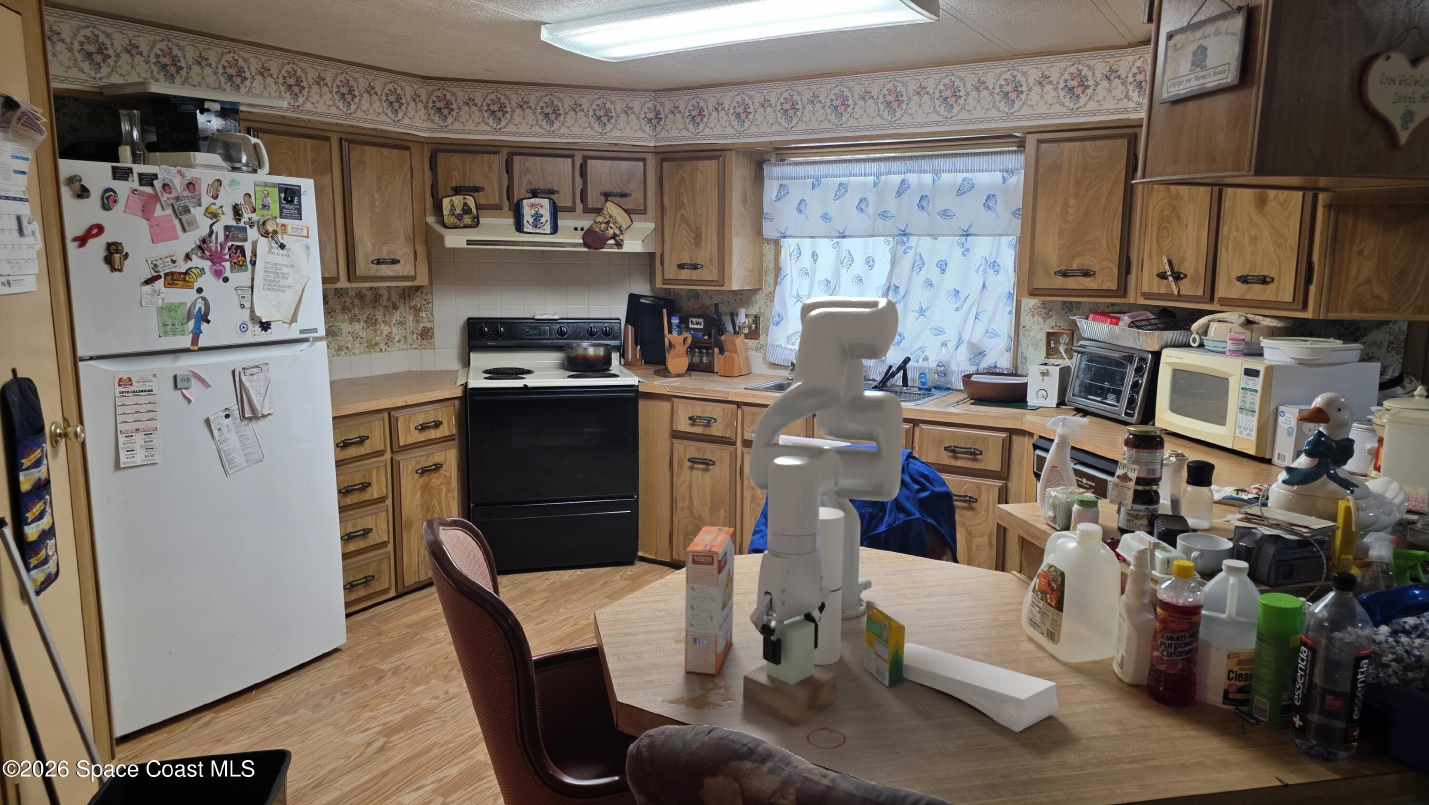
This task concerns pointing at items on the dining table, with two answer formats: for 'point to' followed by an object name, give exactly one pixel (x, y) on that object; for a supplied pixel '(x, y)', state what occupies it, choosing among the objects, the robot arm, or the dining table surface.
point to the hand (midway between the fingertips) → (790, 653)
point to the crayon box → (884, 646)
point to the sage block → (794, 651)
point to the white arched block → (983, 686)
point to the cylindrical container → (830, 584)
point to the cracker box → (709, 599)
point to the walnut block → (789, 695)
